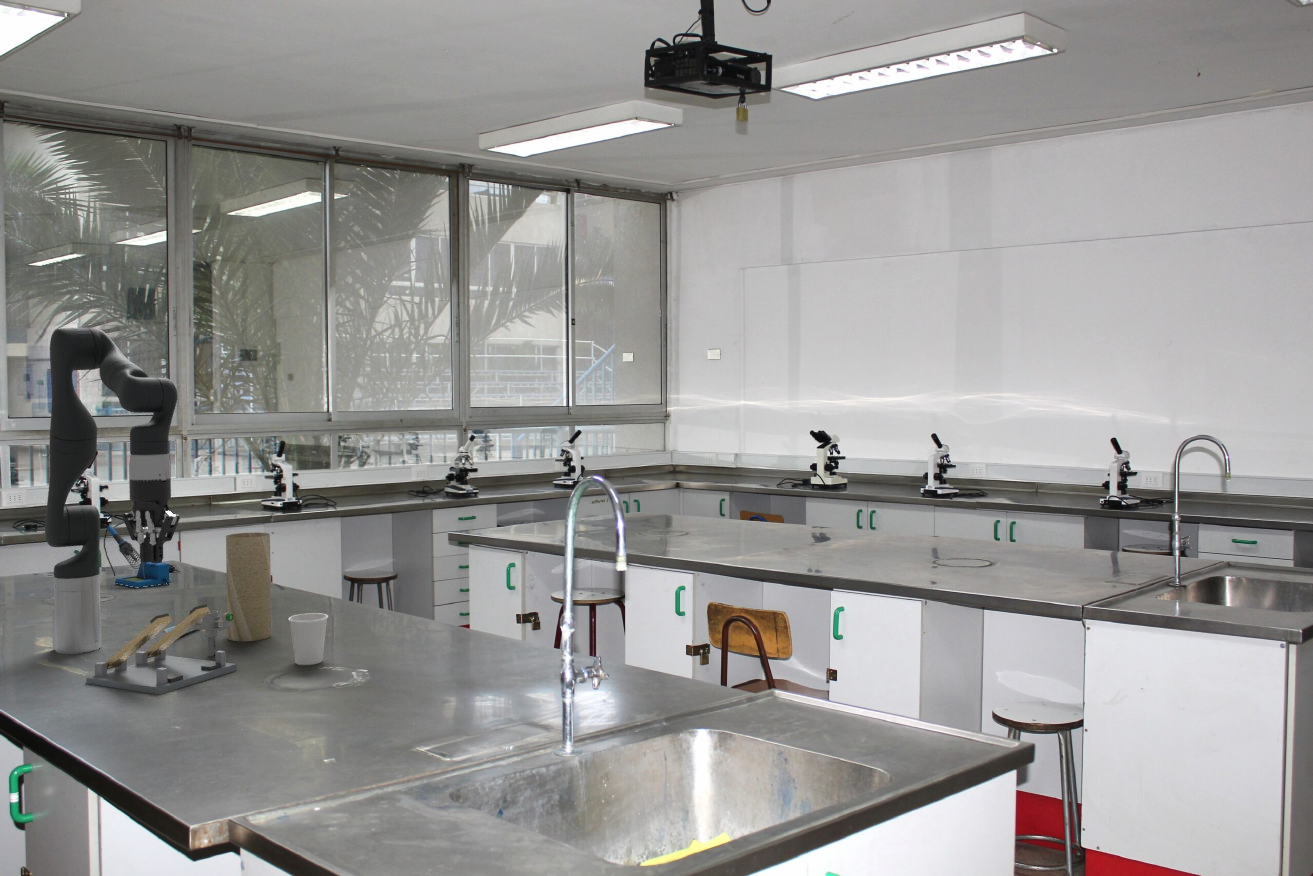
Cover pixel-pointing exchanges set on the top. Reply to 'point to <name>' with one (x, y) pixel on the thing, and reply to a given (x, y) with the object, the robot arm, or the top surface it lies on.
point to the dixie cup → (308, 637)
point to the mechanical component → (213, 627)
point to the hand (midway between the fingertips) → (151, 562)
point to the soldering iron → (146, 572)
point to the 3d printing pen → (169, 631)
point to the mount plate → (160, 672)
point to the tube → (249, 586)
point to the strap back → (178, 630)
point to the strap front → (139, 640)
